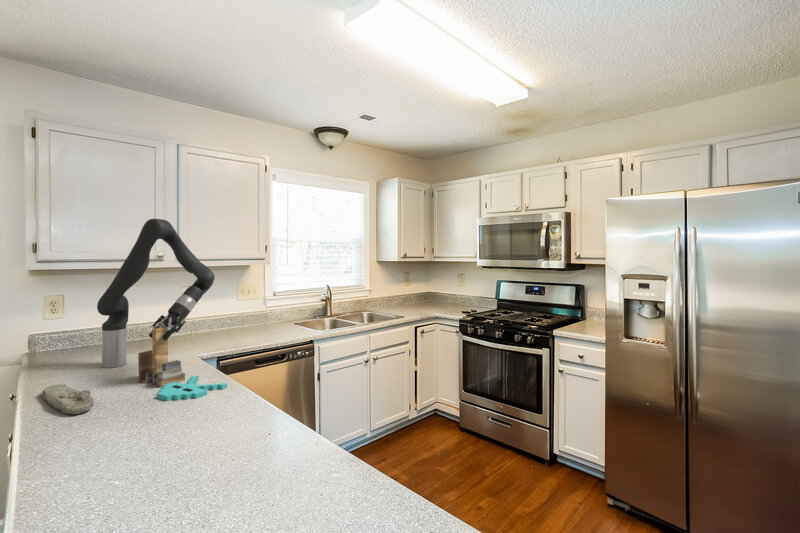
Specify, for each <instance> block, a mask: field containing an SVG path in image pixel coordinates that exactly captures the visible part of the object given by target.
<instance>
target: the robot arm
mask: <svg viewBox="0 0 800 533" xmlns="http://www.w3.org/2000/svg"><path fill="white" fill-rule="evenodd" d="M158 240H162V241H164V242H165V243H166V244H167V245H168V246H169V247H170V248H171V250H172V252H173V254H174V256H175V259H176V260H177V262H178V263H179V264H180V265H181V267H183V269H184V270H185V271H186V272H188V273H189V274H193V275H194V276H195V277H196V278H197V279H196V280H195V281H194V283H193V284H192V285H190V286H188V287H187V288H186V289H185V291H184V292H183V293H182V294H181V295H180V296H179V297H178V298H177V299H176V301H174V303H173V304H172V305H171V306H170V307H169V309H168V310H167V315H166V316H165V315H163V314H162V315H160V316H159V317H158V318H157V320H156V321H155V322H154V323H153V324H152V328H153V329H157V328H162V327H166V328H168V330H167V331H166V333H165V334H164V335H163V336H162V339H163V340H167V339H168V340H169V338H170V337H171V336H172V334H174V333H176V334H177V333H178V332H179V331H180V330H181V329H182V327H183V326H184V324H185V323H186V320H185V319H186V318H187V317H188V315H189V314H190V313H191V312H192V310H193V309H194V308H195V306H196V305H197V303H199V301H200V300H201V299H202V297H203V295H205V294H206V293H207V292H209V290H210V288H211V287H212V286H213V284H214V282H215V277H216V276H215V274H214V272H213V270H212V269H210V268H209V267H208V266H206V265H205V264H204V263H202V262H201V261H200V259H198V258H197V257H196V256H195V254H194V253H193V252H192V251H191V250H190V249H189V247H187V245H186V244H185V243H184V241H183V240H182V238H181V237H180V235H179V234H178V233H177V231H176V229H175V228H174V226H173V225H172V224H171V222H170V221H168V220H166V219H162V218H161V219H160V218H150V219H147V220H146V221H145V223H144V225H142V227H141V230H140V233H139V235H138V237H137V239H136V240H135V243H134V245H133V247H132V248H131V250H130V252H129V254H128V255H127V257H126V258H125V260H124V262H123V263H122V265H121V266H120V268H119V270H118V272H117V274H116V275H115V277H114V279H113V281H111V283H110V285H109V286H108V288H107V289H106V290H105V291H104V293H103V294H102V295H101V297H100V298H99V300H98V302H97V305H96V309H97V312H98V314H100V315H101V316H106V317H107V316H108V318H107V320H106V321H104V322H103V323H102V324H101V344H102V345H101V365H102V367H103V368H106V369H108V368H109V369H111V368H118V367H119V368H120V367H122V366H123V367H124V366H126V365H127V361H128V359H127V356H128V355H127V324H128V322H129V307H130V305H129V301H128V298H127V297H126V296H125V293H127V291H128V290H129V289H130V288H132V286H134V285H135V284H136V283H137V282H139V280H141V278H142V277H143V276H144V274H145V272H146V271H147V269H148V267H149V265H150V261H151V260H150V259H151V258H150V255H151V251H152V248H153V247H154V245H155V243H157V242H158ZM148 336H149V338H150V339H152V331H151V332H150V333H149V334H148Z"/></svg>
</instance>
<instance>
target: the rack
mask: <svg viewBox="0 0 800 533" xmlns="http://www.w3.org/2000/svg"><path fill="white" fill-rule="evenodd" d="M137 355H138V356H137V357H138V358H137V359H138V363H137V364H138V383H142V384H149V383H152V385H154V386H156V378H157V374H153V351H152V349H150V350H145V351H141V352H138V354H137Z"/></svg>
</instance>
